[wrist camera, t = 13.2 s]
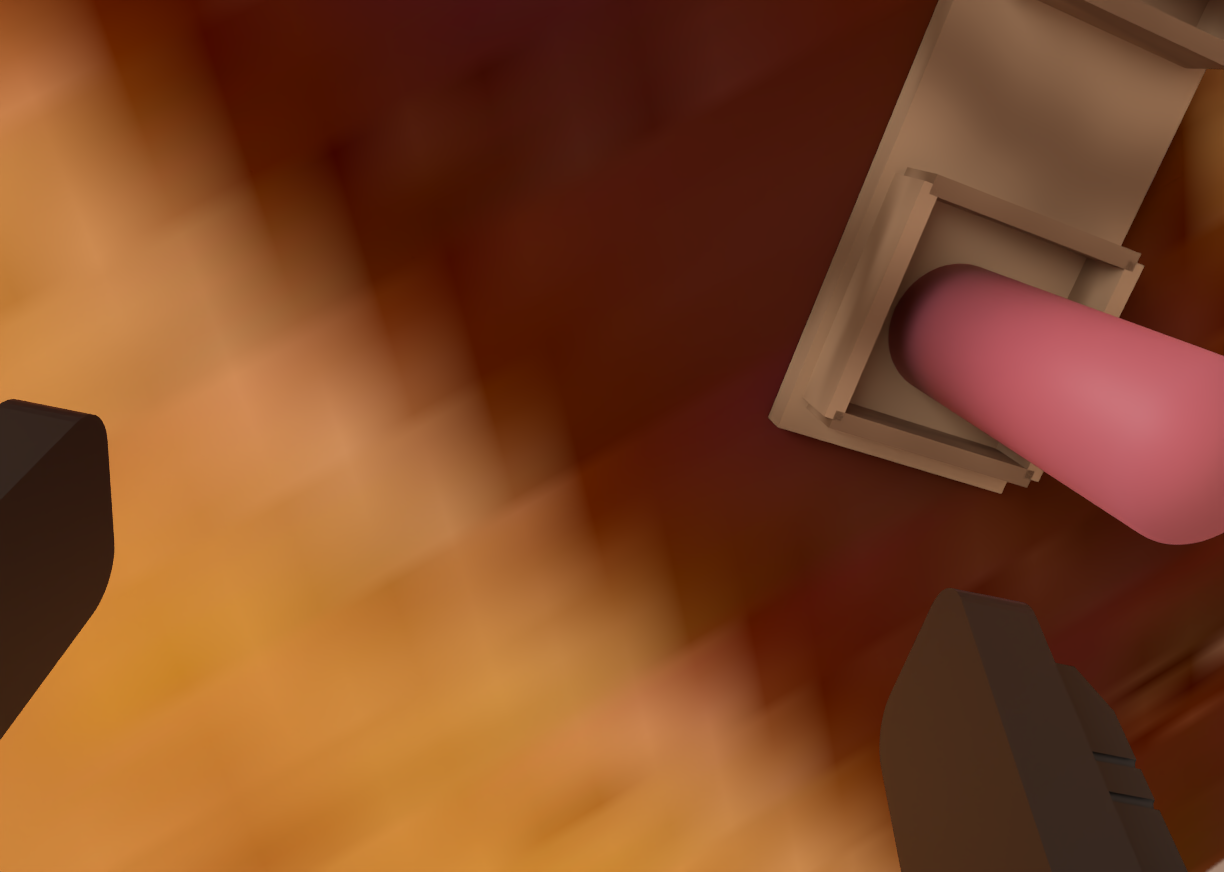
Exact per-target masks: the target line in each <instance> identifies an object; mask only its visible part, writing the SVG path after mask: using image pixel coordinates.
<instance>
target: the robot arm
mask: <svg viewBox="0 0 1224 872" xmlns="http://www.w3.org/2000/svg"><path fill="white" fill-rule="evenodd" d="M113 559H114V532H113V517H112V502H111V487H110V472H109V456H108V441H107V433H106V429H105V426H104V424H103V422H102V420H101V419H100V418H99V417H98V416H96V415H92V414H87V413H82V412H77V411H72V410H67V409H62V408H57V407H52V406H47V405H42V404H37V403H32V402H27V401H22V400H16V399H11V400H7V401H5V402H2V403H1V404H0V739H1V738H2V737H3V735H4V734H5V733H6V731H7V730H8V729H9V727H10V726H11V724H12V723H13V722H14V720H15V719H16V718H17V716H18V715H19V714H20V712H21V711H22V709H23V708H24V707H25V705H26V704H27V703H28V701H29V700H30V699H31V697H32V696H33V695H34V693H35V692H36V690H37V689H38V688H39V686H40V685H41V684H42V682H43V681H44V680H45V678H46V677H47V675H48V674H49V673H50V671H51V670H52V669H53V667H54V666H55V665H56V663H57V662H58V660H59V659H60V658H61V656H62V655H63V654H64V652H65V651H66V650H67V648H68V647H69V646H70V644H71V643H72V641H73V640H74V639H75V637H76V636H77V635H78V633H79V632H80V631H81V629H82V628H83V626H84V625H85V624H86V622H87V621H88V620H89V618H90V617H91V616H92V614H93V613H94V611H95V610H96V608H97V606H98V605H99V603H100V601H101V599H102V597H103V594H104V592H105V590H106V587H107V584H108V581H109V578H110V574H111V570H112V565H113ZM1135 761H1136V758H1135V756H1134V754H1133V752H1132V750H1131V747H1130V745H1129V743H1128V741H1127V739H1126V736H1125V734H1124V732H1123V730H1122V728H1121V726H1120V723H1119V721H1118V719H1117V717H1116V715H1115V712H1114V711H1113V710H1112V709H1111V708H1110V707H1109V705H1108V704H1107V703H1106V702H1105V701H1104V700H1103V699H1102V697H1101V696H1100V695H1099V694H1098V693H1097V692H1096V691H1095V690H1094V688H1093V687H1092V686H1091V685H1090V684H1089V683H1088V682H1087V681H1086V679H1085V678H1084V677H1083V676H1082V675H1081V674H1080V673H1079V672H1078V670H1077V669H1076V668H1075V667H1073V666H1068V665H1063V664H1058V663H1055V661H1054V659H1053V656H1052V654H1051V652H1050V649H1049V647H1048V644H1047V642H1046V639H1045V637H1044V635H1043V632H1042V630H1041V627H1040V625H1039V623H1038V620H1037V618H1036V616H1035V614H1034V612H1033V610H1032V609H1031V607H1030V606H1029V605H1027V604H1026V603H1022V602H1018V601H1013V600H1008V599H1003V598H998V597H993V596H988V595H983V594H978V593H973V592H968V591H963V590H958V589H953V588H947V589H945V590H943V591H942V592H941V593H940V594H939V595H938V596H937V598H936V599H935V601H934V602H933V604H932V606H931V608H930V610H929V613H928V615H927V617H926V619H925V621H924V623H923V625H922V628H921V630H920V632H919V634H918V636H917V638H916V640H915V643H914V645H913V647H912V649H911V651H910V653H909V655H908V658H907V660H906V662H905V664H904V666H903V668H902V671H901V673H900V675H899V677H898V679H897V681H896V683H895V686H894V688H893V690H892V692H891V694H890V696H889V699H888V701H887V704H886V707H885V711H884V715H883V719H882V725H881V733H880V762H881V769H882V774H883V779H884V784H885V790H886V795H887V800H888V805H889V810H890V816H891V821H892V826H893V831H894V836H895V842H896V847H897V852H898V857H899V862H900V868H901V872H1187V870H1186V867H1185V865H1184V863H1183V861H1182V859H1181V857H1180V854H1179V852H1178V850H1177V848H1176V846H1175V843H1174V841H1173V839H1172V837H1171V835H1170V833H1169V830H1168V828H1167V826H1166V824H1165V822H1164V819H1163V817H1162V815H1161V813H1160V811H1159V810H1155V809H1154V808H1153V803H1154V798H1153V795H1152V793H1151V791H1150V789H1149V787H1148V785H1147V782H1146V780H1145V778H1144V776H1143V774H1142V771H1141V769H1136V768H1135Z"/></svg>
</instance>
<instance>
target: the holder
mask: <svg viewBox="0 0 1224 872" xmlns="http://www.w3.org/2000/svg"><path fill="white" fill-rule="evenodd" d="M1206 69H1224V0H939V1H938V3H937V6H936V8H935V11H934V13H933V16H932V18H931V21H930V23H929V25H928V28H927V30H926V33H925V35H924V38H923V40H922V43H921V45H920V47H919V50H918V52H917V55H916V57H915V60H914V62H913V65H912V67H911V69H910V72H909V74H908V77H907V79H906V82H905V84H904V87H903V89H902V91H901V94H900V96H899V99H898V101H897V104H896V106H895V109H894V111H893V113H892V116H891V118H890V121H889V123H888V126H887V128H886V131H885V133H884V135H883V138H882V140H881V143H880V145H879V148H878V150H877V153H876V155H875V157H874V160H873V162H872V165H871V167H870V170H869V172H868V175H867V177H866V179H865V182H864V184H863V187H862V189H861V192H860V194H859V197H858V199H857V201H856V204H855V206H854V209H853V211H852V214H851V216H850V219H849V221H848V223H847V226H846V228H845V231H844V233H843V236H842V238H841V241H840V243H839V245H838V248H837V250H836V253H835V255H834V258H833V260H832V263H831V265H830V267H829V270H828V272H827V275H826V277H825V280H824V282H823V285H822V287H821V289H820V292H819V294H818V297H817V299H816V302H815V304H814V307H813V309H812V311H811V314H810V316H809V319H808V321H807V324H806V326H805V329H804V331H803V333H802V336H801V338H800V341H799V343H798V346H797V348H796V351H795V353H794V355H793V358H792V360H791V363H790V365H789V368H788V370H787V373H786V375H785V377H784V380H783V382H782V385H781V387H780V390H779V392H778V395H777V397H776V399H775V402H774V404H773V407H772V409H771V412H770V414H769V417H768V418H769V419H770V420H771V421H772V422H773V423H774V424H775V425H776V426H777V427H779V428H782V429H785V430H789V431H792V432H796V433H799V434H802V435H806V436H809V437H812V438H816V439H819V440H822V441H826V442H829V443H832V444H836V445H839V446H842V447H846V448H849V449H852V450H856V451H859V452H863V453H866V454H869V455H873V456H876V457H879V458H883V459H886V460H889V461H893V462H896V463H899V464H903V465H906V466H909V467H913V468H916V469H920V470H923V471H926V472H930V473H933V474H936V475H940V476H943V477H946V478H950V479H953V480H956V481H960V482H963V483H966V484H970V485H973V486H977V487H980V488H983V489H987V490H990V491H993V492H997V493H1000V494H1001V493H1002V491H1003V489H1004V487H1005V485H1006V483H1007V482H1010V483H1013V484H1016V485H1019V486H1023V487H1026V488H1027V487H1028V485H1029V483H1030V480H1033V481H1037V482H1038V481H1039V479H1040V477H1041V475H1042V473H1043V470H1041V469H1040V468H1038V467H1037V466H1035V465H1034V464H1032V463H1031V462H1029V461H1027V460H1026V459H1024V458H1023V457H1021V456H1020V455H1018V454H1017V453H1015V452H1014V451H1012V450H1011V449H1009V448H1008V447H1006V446H1004V445H1003V444H1001V443H1000V442H998V441H997V440H995V439H994V438H992V437H991V436H989V435H988V434H986V433H985V432H983V431H981V430H980V429H978V428H977V427H975V426H974V425H972V424H971V423H969V422H968V421H966V420H965V419H963V418H962V417H960V416H958V415H957V414H955V413H954V412H952V411H951V410H949V409H948V408H946V407H945V406H943V405H942V404H940V403H939V402H937V401H935V400H934V399H932V398H931V397H929V396H928V395H926V394H925V393H923V392H922V391H920V390H919V389H917V388H916V387H914V386H912V385H911V384H910V383H908V382H907V381H906V380H905V379H904V378H903V377H902V376H901V375H900V374H899V372H898V371H897V369H896V368H895V365H894V363H893V361H892V358H891V355H890V351H889V345H888V334H889V326H890V322H891V318H892V315H893V312H894V310H895V308H896V306H897V304H898V302H899V300H900V299H901V297H902V296H903V294H904V293H905V292H906V291H907V289H908V288H909V287H910V286H911V285H912V284H913V283H914V282H915V281H916V280H918V279H919V278H920V277H922V276H923V275H925V274H926V273H928V272H930V271H932V270H934V269H936V268H939V267H942V266H945V265H950V264H971V265H975V266H978V267H981V268H984V269H987V270H989V271H992V272H995V273H998V274H1000V275H1003V276H1006V277H1009V278H1011V279H1014V280H1017V281H1020V282H1022V283H1025V284H1028V285H1030V286H1033V287H1036V288H1039V289H1041V290H1044V291H1047V292H1050V293H1052V294H1055V295H1058V296H1061V297H1063V298H1066V299H1069V300H1071V301H1074V302H1077V303H1080V304H1082V305H1085V306H1088V307H1091V308H1093V309H1096V310H1099V311H1102V312H1104V313H1107V314H1110V315H1112V316H1115V317H1118V318H1119V316H1120V314H1121V312H1122V310H1123V308H1124V306H1125V304H1126V302H1127V300H1128V298H1129V296H1130V294H1131V292H1132V290H1133V288H1134V286H1135V284H1136V282H1137V280H1138V278H1139V276H1140V274H1141V272H1142V270H1143V268H1144V266H1143V265H1141V264H1138V263H1137V262H1138V260H1139V257H1140V255H1141V254H1140V253H1138V252H1135V251H1133V250H1130V249H1127V248H1125V247H1122V246H1121V245H1122V243H1123V240H1124V238H1125V236H1126V234H1127V232H1128V230H1129V228H1130V226H1131V224H1132V222H1133V220H1134V218H1135V216H1136V214H1137V211H1138V209H1139V207H1140V205H1141V203H1142V201H1143V199H1144V197H1145V195H1146V193H1147V191H1148V189H1149V187H1150V185H1151V182H1152V180H1153V178H1154V176H1155V174H1156V172H1157V170H1158V168H1159V166H1160V164H1161V162H1162V160H1163V158H1164V156H1165V153H1166V151H1167V149H1168V147H1169V145H1170V143H1171V141H1172V139H1173V137H1174V135H1175V133H1176V131H1177V129H1178V127H1179V124H1180V122H1181V120H1182V118H1183V116H1184V114H1185V112H1186V110H1187V108H1188V106H1189V104H1190V102H1191V100H1192V97H1193V95H1194V93H1195V91H1196V89H1197V87H1198V85H1199V83H1200V81H1201V79H1202V77H1203V75H1204V73H1205V71H1206Z"/></svg>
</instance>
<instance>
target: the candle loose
mask: <svg viewBox="0 0 1224 872" xmlns="http://www.w3.org/2000/svg"><path fill="white" fill-rule="evenodd" d="M888 345H889V351H890V355H891V358H892V361H893V363H894V365H895V368H896V369H897V371H898V372H899V374H900V375H901V376H902V377H903V378H904V379H905V380H906V381H907V382H908V383H910V384H911V385H912V386H914V387H916V388H917V389H919V390H920V391H922V392H923V393H925V394H926V395H928V396H929V397H931V398H932V399H934V400H935V401H937V402H939V403H940V404H942V405H943V406H945V407H946V408H948V409H949V410H951V411H952V412H954V413H955V414H957V415H958V416H960V417H962V418H963V419H965V420H966V421H968V422H969V423H971V424H972V425H974V426H975V427H977V428H978V429H980V430H981V431H983V432H985V433H986V434H988V435H989V436H991V437H992V438H994V439H995V440H997V441H998V442H1000V443H1001V444H1003V445H1004V446H1006V447H1008V448H1009V449H1011V450H1012V451H1014V452H1015V453H1017V454H1018V455H1020V456H1021V457H1023V458H1024V459H1026V460H1027V461H1029V462H1031V463H1032V464H1034V465H1035V466H1037V467H1038V468H1040V469H1041V470H1043V471H1044V472H1046V473H1047V474H1049V475H1050V476H1052V477H1054V478H1055V479H1057V480H1058V481H1060V482H1061V483H1063V484H1064V485H1066V486H1067V487H1069V488H1070V489H1072V490H1074V491H1075V492H1077V493H1078V494H1080V495H1081V496H1083V497H1084V498H1086V499H1087V500H1089V501H1090V502H1092V503H1093V504H1095V505H1097V506H1098V507H1100V508H1101V509H1103V510H1104V511H1106V512H1107V513H1109V514H1110V515H1112V516H1113V517H1115V518H1116V519H1118V520H1120V521H1121V522H1123V523H1124V524H1126V525H1127V526H1129V527H1130V528H1132V529H1133V530H1135V531H1136V532H1138V533H1139V534H1141V535H1143V536H1145V537H1146V538H1148V539H1151V540H1154V541H1156V542H1160V543H1165V544H1175V545H1181V544H1191V543H1196V542H1201V541H1204V540H1207V539H1210V538H1213V537H1215V536H1217V535H1219V534H1222V533H1224V356H1222V355H1219V354H1216V353H1214V352H1211V351H1208V350H1205V349H1203V348H1200V347H1197V346H1194V345H1192V344H1189V343H1186V342H1184V341H1181V340H1178V339H1175V338H1173V337H1170V336H1167V335H1164V334H1162V333H1159V332H1156V331H1153V330H1151V329H1148V328H1145V327H1143V326H1140V325H1137V324H1134V323H1132V322H1129V321H1126V320H1123V319H1121V318H1118V317H1115V316H1112V315H1110V314H1107V313H1104V312H1102V311H1099V310H1096V309H1093V308H1091V307H1088V306H1085V305H1082V304H1080V303H1077V302H1074V301H1071V300H1069V299H1066V298H1063V297H1061V296H1058V295H1055V294H1052V293H1050V292H1047V291H1044V290H1041V289H1039V288H1036V287H1033V286H1030V285H1028V284H1025V283H1022V282H1020V281H1017V280H1014V279H1011V278H1009V277H1006V276H1003V275H1000V274H998V273H995V272H992V271H989V270H987V269H984V268H981V267H978V266H975V265H971V264H950V265H945V266H942V267H939V268H936V269H934V270H932V271H930V272H928V273H926V274H925V275H923V276H922V277H920V278H919V279H918V280H916V281H915V282H914V283H913V284H912V285H911V286H910V287H909V288H908V289H907V291H906V292H905V293H904V294H903V296H902V297H901V299H900V300H899V302H898V304H897V306H896V308H895V310H894V312H893V315H892V318H891V322H890V326H889V334H888Z"/></svg>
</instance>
